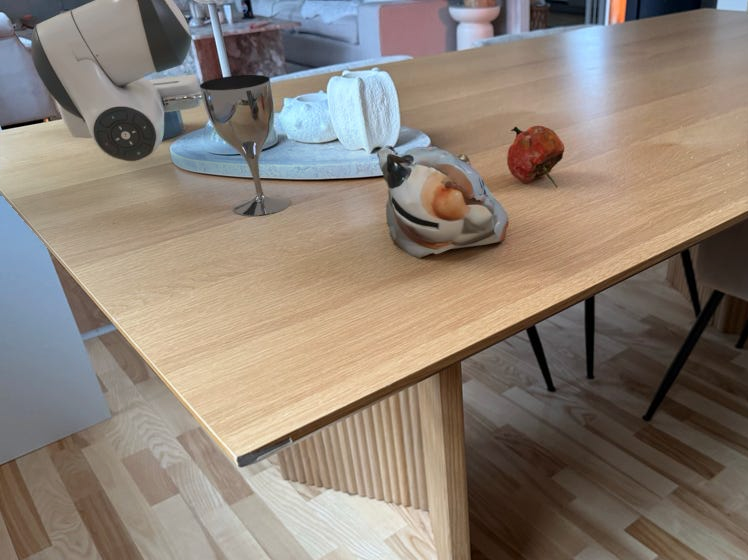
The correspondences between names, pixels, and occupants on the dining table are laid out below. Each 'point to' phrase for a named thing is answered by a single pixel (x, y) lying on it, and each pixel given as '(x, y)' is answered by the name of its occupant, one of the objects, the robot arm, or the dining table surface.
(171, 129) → the bowl
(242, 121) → the wine glass
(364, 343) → the dining table surface
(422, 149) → the lucky cat figurine
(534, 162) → the pomegranate
